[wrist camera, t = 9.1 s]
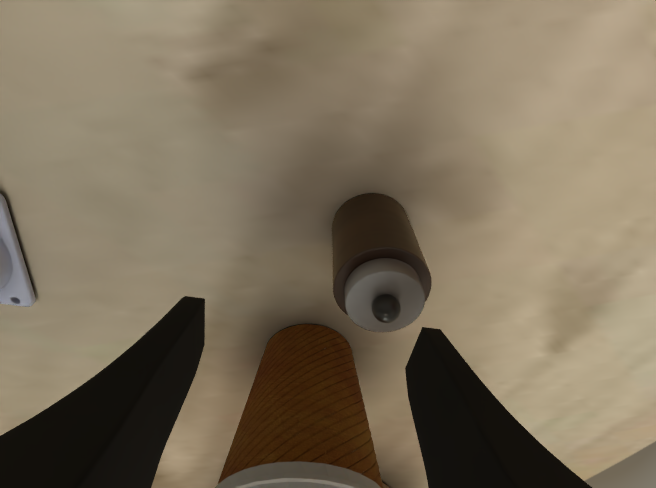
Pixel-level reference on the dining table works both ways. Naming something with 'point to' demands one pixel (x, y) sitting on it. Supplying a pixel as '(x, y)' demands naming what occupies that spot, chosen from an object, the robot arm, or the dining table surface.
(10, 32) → the dining table surface
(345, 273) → the pepper mill
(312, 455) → the disposable coffee cup
